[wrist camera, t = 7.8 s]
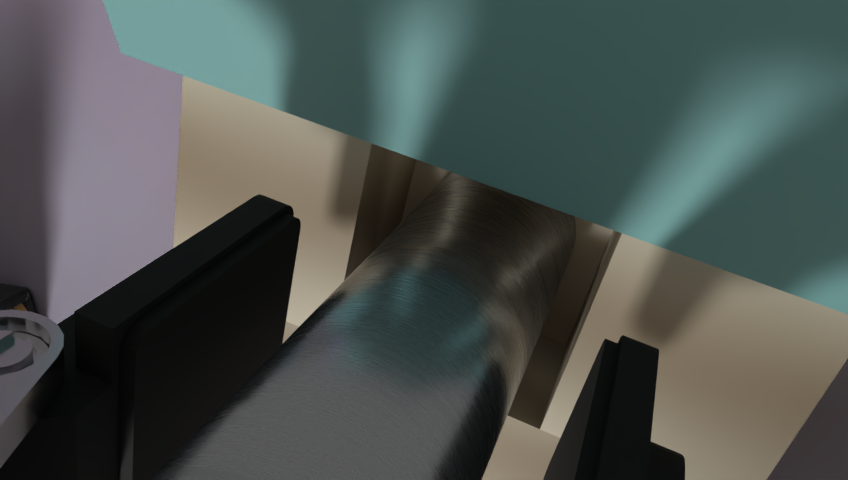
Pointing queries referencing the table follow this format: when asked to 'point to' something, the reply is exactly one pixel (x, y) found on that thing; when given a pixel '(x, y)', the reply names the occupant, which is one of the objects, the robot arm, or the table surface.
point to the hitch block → (572, 306)
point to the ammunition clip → (15, 298)
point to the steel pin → (400, 353)
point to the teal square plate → (568, 107)
